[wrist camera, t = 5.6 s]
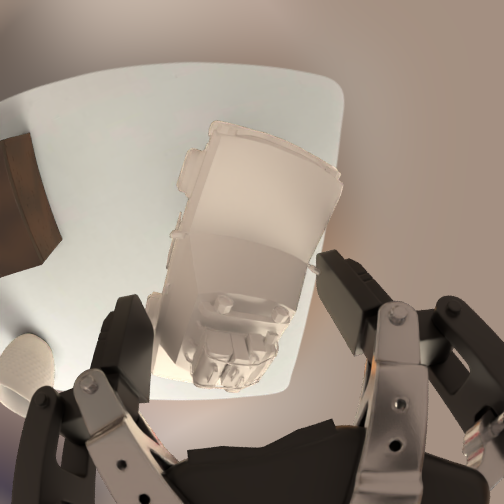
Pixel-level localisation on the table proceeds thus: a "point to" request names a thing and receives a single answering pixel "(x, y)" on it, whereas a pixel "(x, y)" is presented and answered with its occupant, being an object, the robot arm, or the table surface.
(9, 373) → the mug
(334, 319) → the robot arm
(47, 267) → the table surface
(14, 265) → the stand
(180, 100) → the table surface
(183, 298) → the toy car
